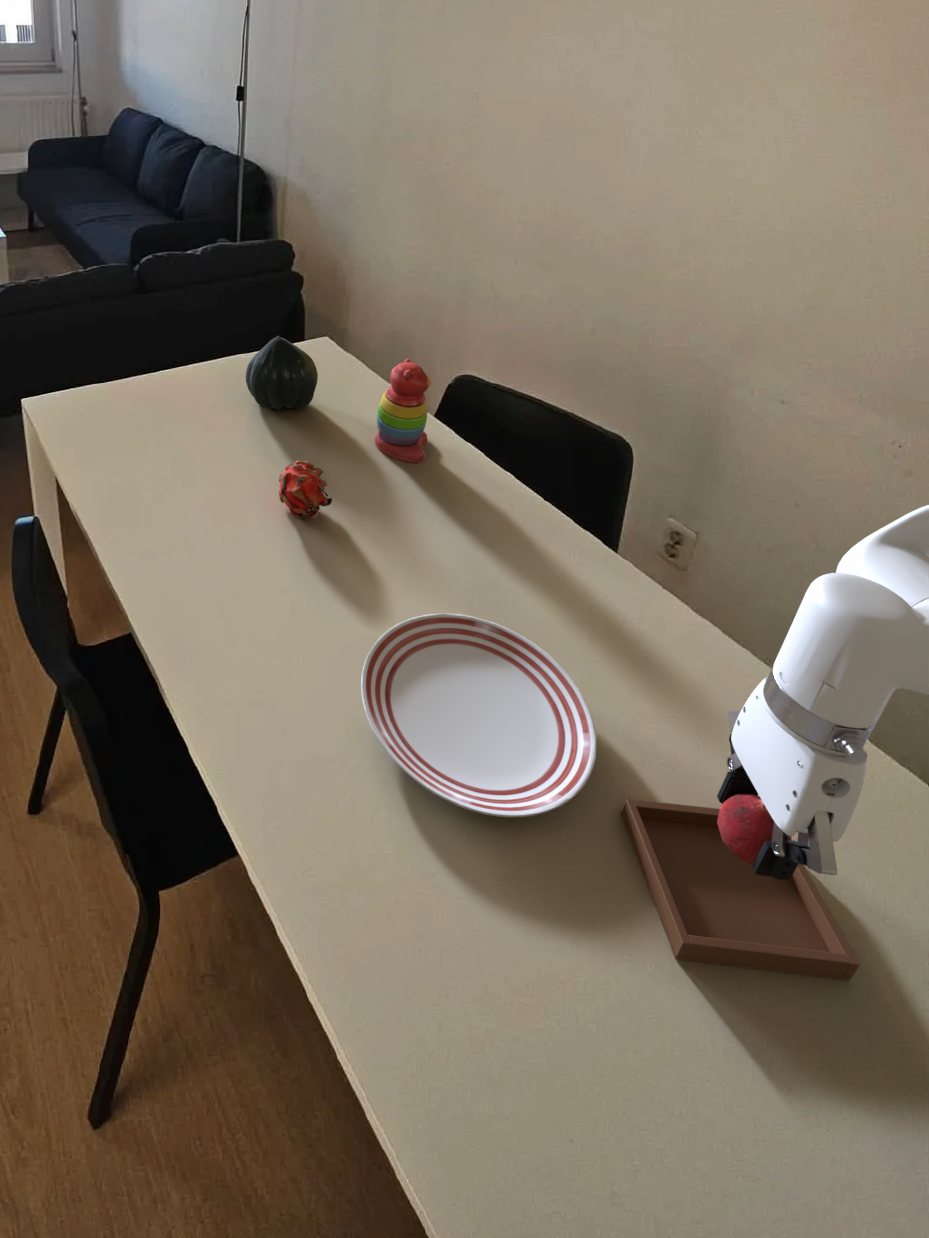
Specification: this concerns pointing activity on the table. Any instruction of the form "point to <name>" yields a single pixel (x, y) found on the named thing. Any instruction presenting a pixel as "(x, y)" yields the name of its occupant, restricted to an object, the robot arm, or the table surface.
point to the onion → (745, 825)
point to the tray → (730, 898)
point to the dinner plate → (478, 715)
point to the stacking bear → (403, 414)
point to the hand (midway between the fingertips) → (752, 835)
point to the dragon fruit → (303, 489)
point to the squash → (281, 376)
